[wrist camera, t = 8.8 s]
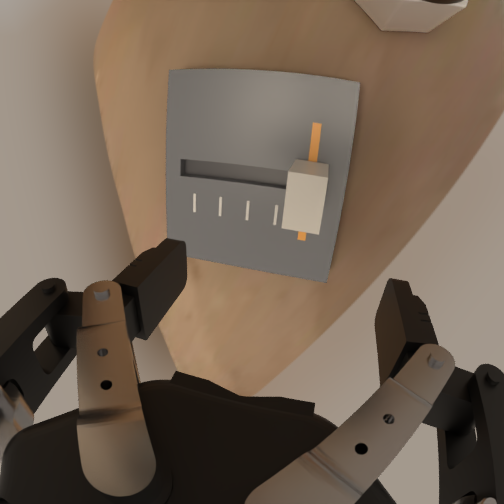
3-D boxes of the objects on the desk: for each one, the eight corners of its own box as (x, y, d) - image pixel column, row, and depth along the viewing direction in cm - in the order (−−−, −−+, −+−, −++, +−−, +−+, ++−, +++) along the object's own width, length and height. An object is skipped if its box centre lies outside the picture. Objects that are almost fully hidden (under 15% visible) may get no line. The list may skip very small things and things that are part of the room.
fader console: (183, 72, 26) (168, 69, 23) (356, 85, 23) (360, 82, 21) (180, 240, 34) (167, 253, 32) (327, 267, 32) (326, 283, 29)
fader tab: (297, 156, 25) (288, 171, 20) (328, 161, 25) (328, 177, 19) (292, 201, 27) (281, 228, 22) (321, 206, 27) (318, 234, 21)
